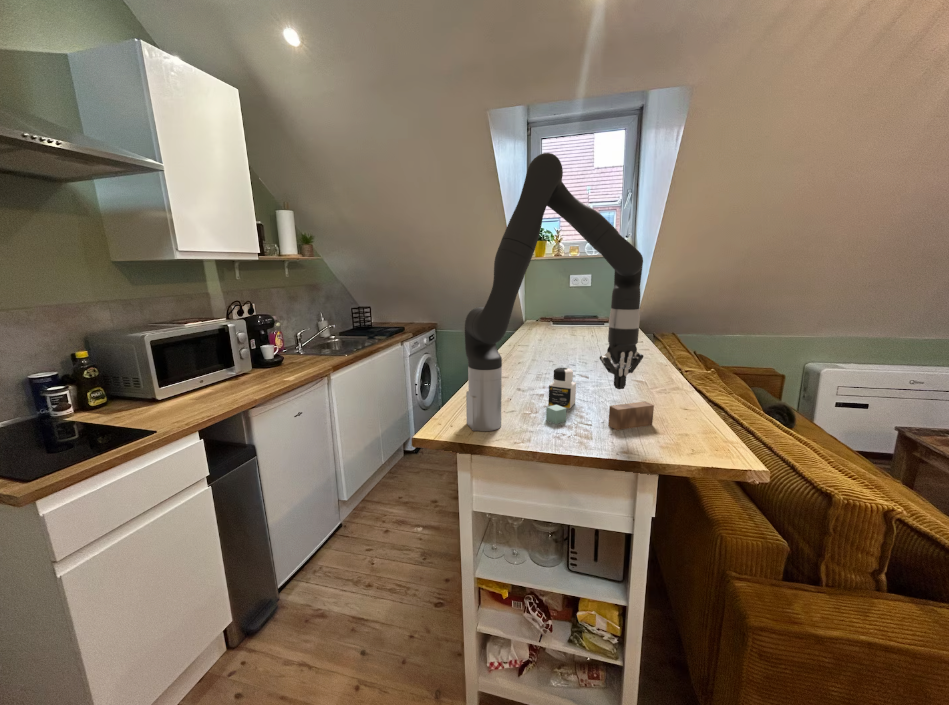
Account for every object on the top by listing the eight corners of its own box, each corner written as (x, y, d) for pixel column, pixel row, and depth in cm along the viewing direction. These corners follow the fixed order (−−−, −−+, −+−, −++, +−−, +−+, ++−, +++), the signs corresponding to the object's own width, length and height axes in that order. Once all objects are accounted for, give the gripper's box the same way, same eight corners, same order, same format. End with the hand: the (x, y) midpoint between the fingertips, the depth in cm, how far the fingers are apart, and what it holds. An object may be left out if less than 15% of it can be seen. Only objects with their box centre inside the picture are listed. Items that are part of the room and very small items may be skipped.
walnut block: (617, 409, 109) (653, 405, 112) (609, 405, 112) (645, 401, 116) (616, 430, 110) (652, 425, 114) (608, 425, 113) (643, 421, 117)
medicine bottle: (548, 405, 130) (549, 369, 127) (554, 399, 136) (555, 365, 134) (569, 409, 127) (571, 372, 124) (575, 402, 133) (577, 367, 130)
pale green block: (555, 424, 115) (556, 410, 114) (546, 419, 118) (546, 407, 117) (565, 421, 117) (566, 408, 116) (556, 417, 120) (556, 404, 119)
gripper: (611, 328, 101) (607, 394, 104) (654, 326, 105) (648, 389, 108) (594, 325, 108) (590, 387, 111) (634, 322, 112) (630, 382, 115)
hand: (619, 388), depth 110 cm, fingers closed
